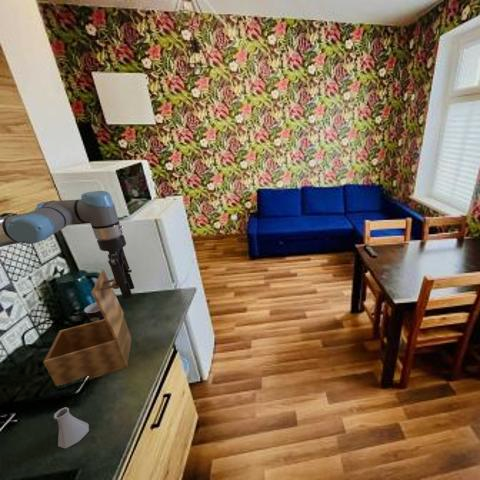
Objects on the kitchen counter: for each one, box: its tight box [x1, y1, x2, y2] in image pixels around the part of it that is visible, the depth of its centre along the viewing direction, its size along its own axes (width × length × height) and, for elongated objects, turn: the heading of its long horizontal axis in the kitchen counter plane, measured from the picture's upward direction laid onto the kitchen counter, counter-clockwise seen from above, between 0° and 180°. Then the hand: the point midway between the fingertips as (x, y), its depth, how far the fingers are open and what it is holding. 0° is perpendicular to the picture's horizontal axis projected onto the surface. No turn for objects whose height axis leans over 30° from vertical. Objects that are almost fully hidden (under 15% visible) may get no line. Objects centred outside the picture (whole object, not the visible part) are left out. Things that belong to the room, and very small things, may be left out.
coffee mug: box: [83, 302, 104, 323], centre depth 121 cm, size 12×9×10 cm
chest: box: [42, 315, 132, 387], centre depth 101 cm, size 20×17×13 cm
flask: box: [53, 406, 90, 449], centre depth 77 cm, size 7×7×10 cm
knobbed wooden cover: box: [91, 269, 124, 340], centre depth 99 cm, size 21×17×6 cm
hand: (129, 293), depth 100 cm, fingers closed on knobbed wooden cover, 6 cm apart
